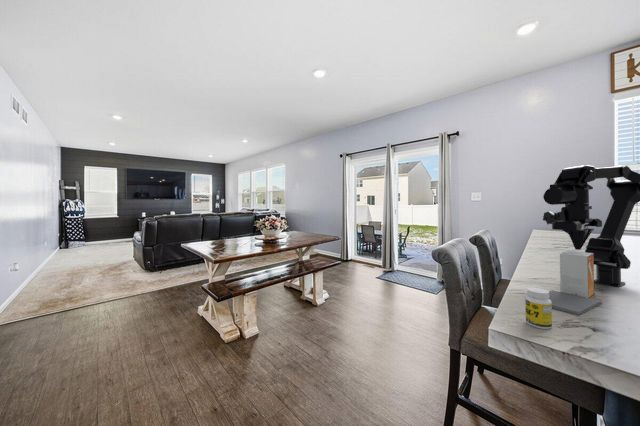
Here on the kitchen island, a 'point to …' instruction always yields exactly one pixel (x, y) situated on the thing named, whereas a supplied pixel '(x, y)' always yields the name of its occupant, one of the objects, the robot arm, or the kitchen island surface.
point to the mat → (572, 302)
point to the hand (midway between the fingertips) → (577, 249)
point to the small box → (577, 273)
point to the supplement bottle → (538, 308)
